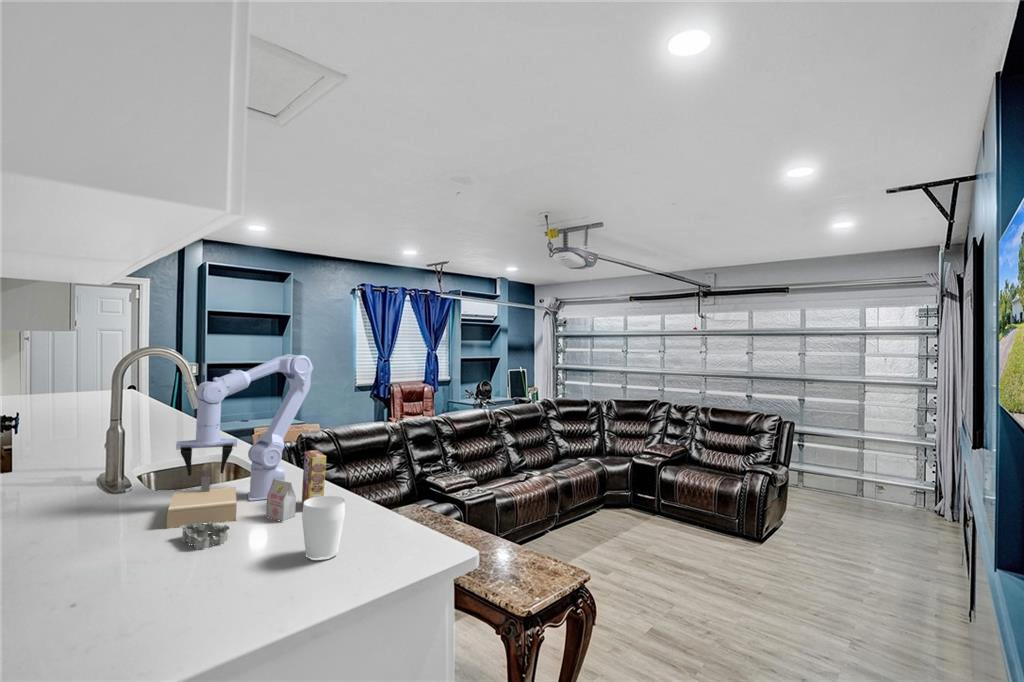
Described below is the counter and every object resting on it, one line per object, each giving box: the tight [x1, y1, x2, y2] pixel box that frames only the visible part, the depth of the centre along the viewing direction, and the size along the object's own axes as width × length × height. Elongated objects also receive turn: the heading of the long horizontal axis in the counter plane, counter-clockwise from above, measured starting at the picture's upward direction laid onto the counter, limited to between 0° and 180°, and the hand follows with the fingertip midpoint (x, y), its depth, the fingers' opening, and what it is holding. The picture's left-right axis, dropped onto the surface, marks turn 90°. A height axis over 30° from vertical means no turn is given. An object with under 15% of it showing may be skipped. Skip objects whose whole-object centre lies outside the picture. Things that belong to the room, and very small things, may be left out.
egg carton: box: [181, 522, 230, 550], centre depth 119 cm, size 11×8×4 cm
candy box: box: [301, 450, 327, 505], centre depth 147 cm, size 9×4×15 cm, turn 35°
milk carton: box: [265, 479, 297, 521], centre depth 136 cm, size 4×7×10 cm, turn 61°
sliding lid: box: [167, 475, 237, 512], centre depth 136 cm, size 15×16×4 cm
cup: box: [301, 495, 346, 558], centre depth 114 cm, size 9×9×12 cm
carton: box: [166, 502, 237, 529], centre depth 136 cm, size 15×16×4 cm
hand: (205, 473), depth 142 cm, fingers open, 7 cm apart
